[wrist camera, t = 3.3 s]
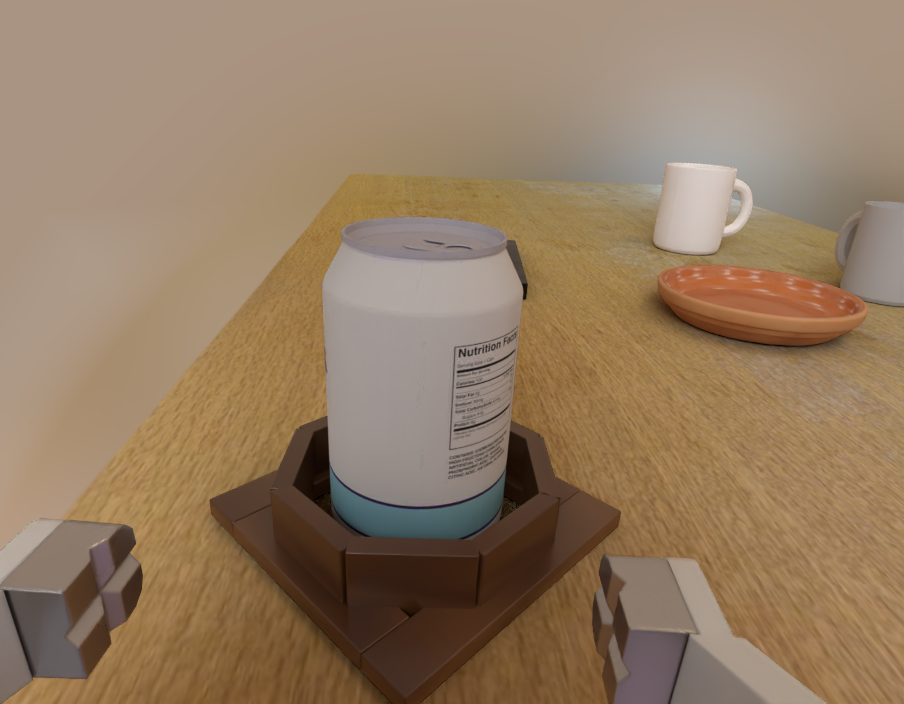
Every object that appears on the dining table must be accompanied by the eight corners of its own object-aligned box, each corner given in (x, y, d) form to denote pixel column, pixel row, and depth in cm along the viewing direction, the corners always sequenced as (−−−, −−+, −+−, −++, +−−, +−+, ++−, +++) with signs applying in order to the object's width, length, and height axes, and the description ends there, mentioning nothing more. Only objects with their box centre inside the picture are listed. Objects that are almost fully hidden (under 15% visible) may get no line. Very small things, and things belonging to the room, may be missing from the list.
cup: (883, 309, 56) (917, 213, 52) (801, 279, 64) (824, 196, 61) (940, 306, 57) (976, 214, 54) (852, 277, 66) (878, 197, 63)
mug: (725, 242, 81) (743, 165, 77) (759, 257, 74) (781, 172, 70) (642, 240, 80) (656, 161, 76) (667, 255, 72) (684, 168, 68)
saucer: (614, 303, 53) (620, 271, 52) (729, 285, 61) (735, 257, 59) (778, 371, 41) (790, 331, 39) (897, 339, 48) (910, 304, 47)
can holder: (404, 718, 17) (406, 641, 15) (210, 514, 24) (201, 452, 23) (618, 526, 25) (630, 466, 23) (423, 419, 32) (424, 369, 31)
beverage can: (382, 458, 28) (383, 207, 24) (519, 496, 26) (549, 227, 21) (297, 548, 22) (274, 238, 18) (464, 608, 20) (489, 269, 16)
